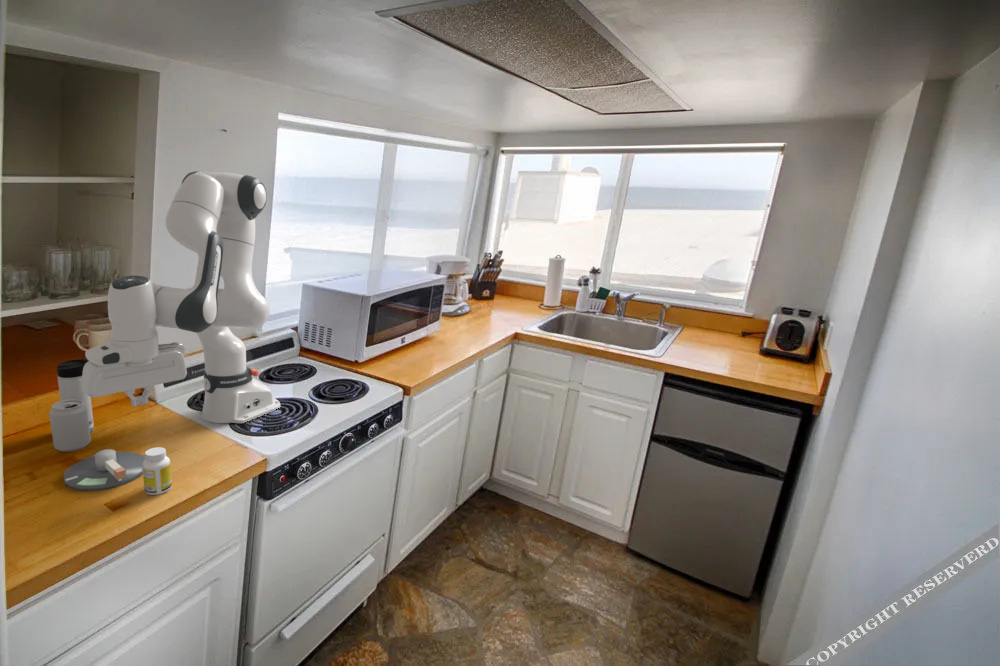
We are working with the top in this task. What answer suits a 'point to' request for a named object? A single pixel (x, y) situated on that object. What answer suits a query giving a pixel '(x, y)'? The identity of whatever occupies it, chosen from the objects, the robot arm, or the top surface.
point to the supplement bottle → (156, 471)
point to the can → (70, 425)
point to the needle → (109, 463)
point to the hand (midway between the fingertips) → (139, 404)
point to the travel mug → (74, 384)
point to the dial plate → (103, 473)
